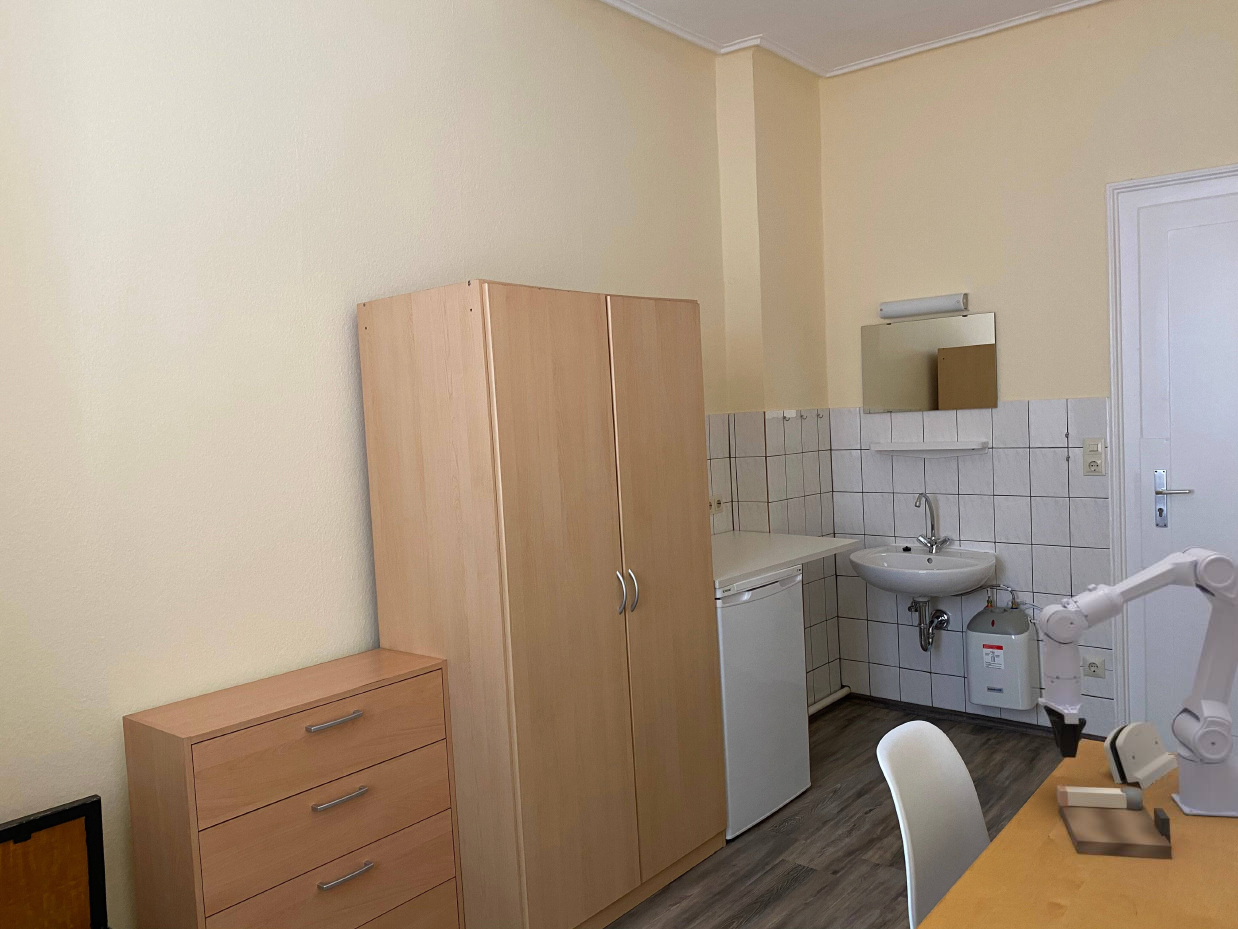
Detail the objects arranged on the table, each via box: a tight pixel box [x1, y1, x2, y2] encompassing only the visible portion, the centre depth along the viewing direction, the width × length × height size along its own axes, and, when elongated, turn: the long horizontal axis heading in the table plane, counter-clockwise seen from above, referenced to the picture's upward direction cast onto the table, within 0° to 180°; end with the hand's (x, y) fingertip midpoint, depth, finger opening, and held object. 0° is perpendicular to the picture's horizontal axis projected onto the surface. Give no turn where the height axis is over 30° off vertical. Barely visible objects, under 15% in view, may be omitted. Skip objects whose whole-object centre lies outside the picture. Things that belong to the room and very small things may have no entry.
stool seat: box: [1057, 801, 1173, 860], centre depth 150 cm, size 14×16×5 cm
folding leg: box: [1056, 784, 1144, 810], centre depth 156 cm, size 13×3×3 cm, turn 74°
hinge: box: [1103, 721, 1178, 790], centre depth 174 cm, size 17×5×10 cm, turn 129°
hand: (1066, 752), depth 161 cm, fingers open, 4 cm apart
